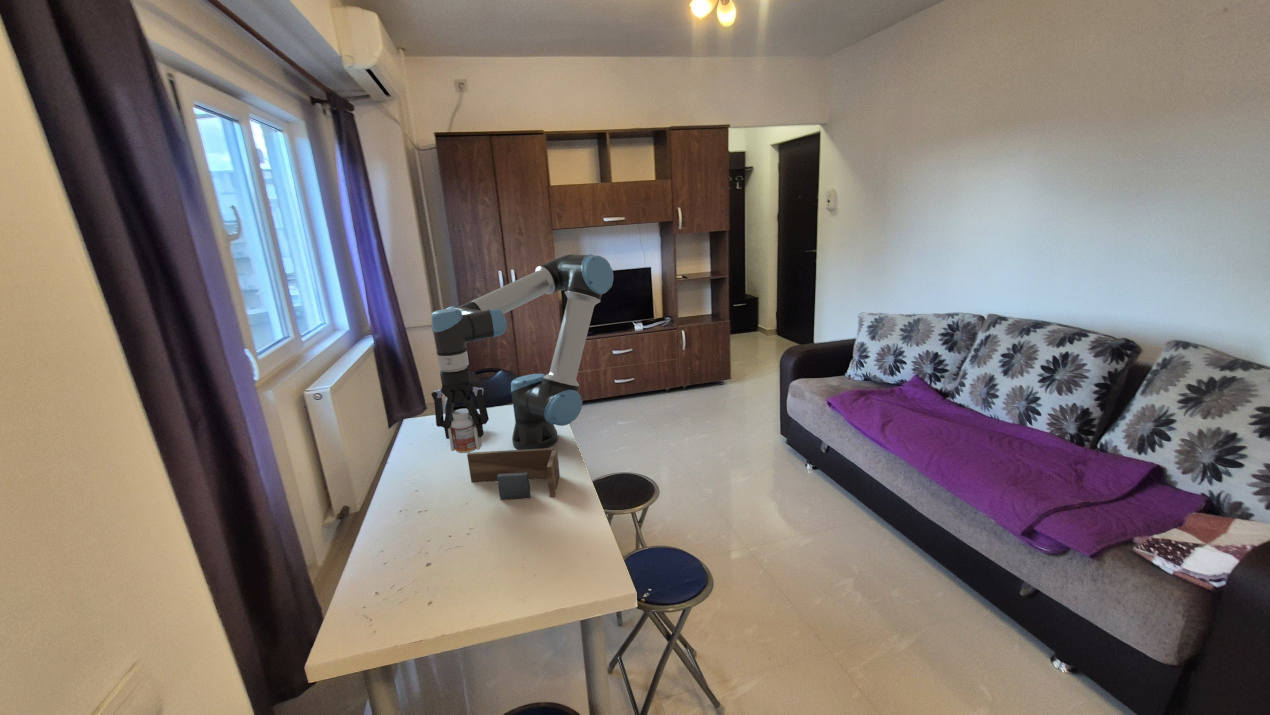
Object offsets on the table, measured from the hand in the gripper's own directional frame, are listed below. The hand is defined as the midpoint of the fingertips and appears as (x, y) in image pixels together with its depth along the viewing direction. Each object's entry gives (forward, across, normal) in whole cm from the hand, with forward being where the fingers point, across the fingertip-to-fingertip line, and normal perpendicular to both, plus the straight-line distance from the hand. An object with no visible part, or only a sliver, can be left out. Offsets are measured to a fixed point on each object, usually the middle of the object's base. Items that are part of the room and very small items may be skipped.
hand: (466, 448), depth 143 cm
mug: (+13, -15, +42) cm, 47 cm away
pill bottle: (+1, 0, 0) cm, 1 cm away
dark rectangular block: (+13, +13, -5) cm, 19 cm away
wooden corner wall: (+13, +11, 0) cm, 17 cm away
